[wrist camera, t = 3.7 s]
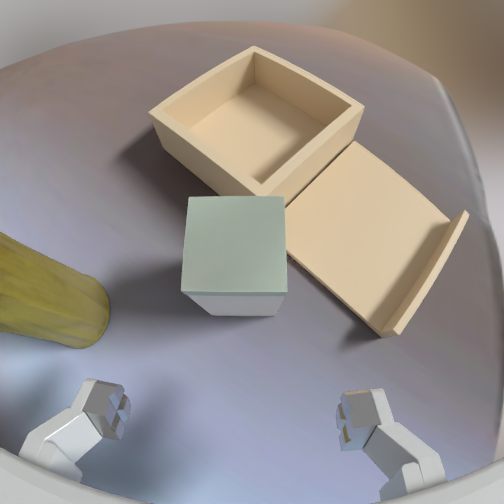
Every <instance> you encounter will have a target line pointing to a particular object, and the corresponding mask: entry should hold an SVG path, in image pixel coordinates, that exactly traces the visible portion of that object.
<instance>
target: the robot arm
mask: <svg viewBox="0 0 504 504" xmlns="http://www.w3.org/2000/svg"><path fill="white" fill-rule="evenodd" d="M124 391H125V390H124V388H123V386H122V385H120V384H114V383H109V382H104V381H99V380H95V379H90V378H87V379H86V380H84V382H83V384H82V386H81V388H80V390H79V392H78V394H77V396H76V398H75V400H74V402H73V404H72V406H71V408H66V409H65V410H63V411H62V412H60V413H59V414H57V415H55V416H54V417H52V418H51V419H49V420H48V421H46V422H45V423H43V424H42V425H40V426H39V427H37V428H36V429H34V430H32V431H31V432H29V433H28V436H27V438H26V440H25V442H24V444H23V446H22V448H21V450H20V452H19V454H18V456H16V455H14V454H12V453H10V452H8V451H6V450H5V449H3V448H1V447H0V504H153V503H148V502H143V501H139V500H135V499H131V498H127V497H123V496H119V495H115V494H112V493H108V492H105V491H102V490H98V489H95V488H92V487H89V486H86V485H83V484H80V482H81V479H82V475H83V473H82V471H81V470H80V469H79V468H78V467H77V466H76V465H75V464H74V463H76V462H77V461H78V460H79V459H80V458H81V457H82V456H83V455H84V454H86V453H87V452H88V451H89V450H90V449H91V448H92V447H93V446H94V445H95V444H96V443H98V442H99V441H100V440H101V439H102V437H105V438H110V439H115V440H120V441H121V439H122V436H123V433H124V430H125V426H124V423H123V422H125V421H126V420H127V419H128V418H129V415H130V408H131V405H130V401H129V398H128V397H127V396H126V395H125V394H123V393H124ZM340 399H341V403H340V404H339V405H338V407H337V410H336V423H337V428H338V429H339V430H340V431H341V434H340V436H339V441H340V446H341V452H342V451H352V450H360V449H363V451H364V452H365V453H366V454H367V455H368V457H369V458H370V459H371V460H372V461H373V462H374V463H375V464H376V465H377V466H378V467H379V468H380V470H381V471H382V472H383V473H384V474H385V475H386V476H387V477H388V478H389V479H390V480H389V481H388V482H387V483H386V484H385V485H384V486H383V487H382V488H381V489H380V490H379V492H380V498H381V502H376V503H371V504H504V457H503V458H501V459H499V460H497V461H495V462H493V463H491V464H489V465H487V466H485V467H482V468H480V469H478V470H476V471H473V472H471V473H469V474H466V475H464V476H461V477H459V478H456V479H454V480H451V481H449V482H448V481H447V478H446V475H445V472H444V469H443V466H442V463H441V460H440V457H439V454H438V453H436V452H435V451H434V450H433V449H431V448H430V447H429V446H427V445H426V444H425V443H424V442H422V441H421V440H420V439H419V438H417V437H416V436H415V435H414V434H412V433H411V432H410V431H409V430H407V429H406V428H405V427H404V426H402V425H401V424H400V423H399V422H394V419H393V416H392V413H391V410H390V407H389V404H388V401H387V398H386V395H385V393H384V390H383V389H382V388H379V389H372V390H361V391H352V392H343V393H342V395H341V398H340Z"/></svg>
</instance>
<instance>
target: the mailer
mask: <svg viewBox="0 0 504 504" xmlns="http://www.w3.org/2000/svg"><path fill="white" fill-rule="evenodd" d="M364 108H365V106H363V105H362V104H360V103H359V102H357V101H356V100H354V99H353V98H351V97H349V96H348V95H346V94H345V93H343V92H341V91H340V90H338V89H336V88H335V87H333V86H331V85H330V84H328V83H326V82H325V81H323V80H321V79H319V78H318V77H316V76H314V75H312V74H310V73H309V72H307V71H305V70H303V69H301V68H299V67H297V66H295V65H293V64H291V63H290V62H288V61H286V60H284V59H282V58H279V57H277V56H275V55H273V54H271V53H269V52H267V51H265V50H263V49H260V48H258V47H256V46H252V47H250V48H248V49H247V50H245V51H243V52H241V53H239V54H237V55H236V56H234V57H232V58H230V59H229V60H227V61H225V62H223V63H222V64H220V65H218V66H217V67H215V68H213V69H212V70H210V71H208V72H207V73H205V74H203V75H202V76H200V77H199V78H197V79H196V80H194V81H192V82H191V83H189V84H188V85H186V86H185V87H183V88H182V89H180V90H179V91H177V92H176V93H174V94H173V95H172V96H170V97H169V98H167V99H166V100H164V101H163V102H162V103H160V104H159V105H158V106H156V107H155V108H153V109H152V110H151V111H149V112H148V113H149V115H150V118H151V120H152V123H153V125H154V127H155V130H156V132H157V135H158V137H159V139H160V142H161V144H162V146H163V149H165V150H166V151H167V152H168V153H169V154H171V155H172V156H173V157H174V158H175V159H177V160H178V161H179V162H180V163H181V164H183V165H184V166H185V167H186V168H188V169H189V170H190V171H191V172H192V173H194V174H195V175H196V176H197V177H198V178H199V179H201V180H202V181H203V182H204V183H205V184H207V185H208V186H209V187H210V188H211V189H213V190H214V191H215V192H216V193H217V194H219V195H220V196H284V200H285V227H286V253H287V254H288V255H290V256H291V257H292V258H293V259H294V260H295V261H296V262H298V263H299V264H300V265H301V266H302V267H303V268H304V269H306V270H307V271H308V272H309V273H310V274H311V275H312V276H314V277H315V278H316V279H317V280H318V281H319V282H320V283H321V284H323V285H324V286H325V287H326V288H327V289H328V290H329V291H330V292H332V293H333V294H334V295H335V296H336V297H337V298H338V299H339V300H341V301H342V302H343V303H344V304H345V305H346V306H347V307H348V308H349V309H351V310H352V311H353V312H354V313H355V314H356V315H357V316H358V317H359V318H361V319H362V320H363V321H364V322H365V323H366V324H367V325H368V326H369V327H371V328H372V329H373V330H374V331H375V332H376V333H377V334H378V335H379V336H380V337H382V338H386V337H392V336H397V335H400V333H401V332H402V330H403V329H404V327H405V326H406V325H407V323H408V322H409V320H410V319H411V317H412V316H413V314H414V313H415V311H416V310H417V308H418V307H419V305H420V304H421V302H422V300H423V299H424V297H425V296H426V294H427V292H428V291H429V289H430V288H431V286H432V284H433V283H434V281H435V279H436V278H437V276H438V274H439V272H440V271H441V269H442V267H443V265H444V264H445V262H446V260H447V258H448V256H449V255H450V253H451V251H452V249H453V247H454V245H455V243H456V241H457V239H458V238H459V236H460V234H461V232H462V230H463V228H464V225H465V223H466V221H467V219H468V217H469V214H468V213H467V212H466V211H465V210H464V211H463V212H462V213H461V214H459V215H458V216H457V217H456V218H455V219H453V220H452V221H450V220H449V219H448V218H447V217H446V216H445V215H444V214H443V213H442V212H440V211H439V210H438V209H437V208H436V207H435V206H434V205H433V204H432V203H431V202H430V201H429V200H427V199H426V198H425V197H424V196H423V195H422V194H421V193H420V192H418V191H417V190H416V189H415V188H414V187H413V186H412V185H410V184H409V183H408V182H407V181H406V180H404V179H403V178H402V177H401V176H400V175H398V174H397V173H396V172H395V171H394V170H392V169H391V168H390V167H389V166H387V165H386V164H385V163H383V162H382V161H381V160H380V159H378V158H377V157H376V156H374V155H373V154H372V153H371V152H369V151H368V150H367V149H365V148H364V147H363V146H361V145H360V144H358V143H357V142H356V141H354V142H353V143H351V142H352V140H353V137H354V135H355V132H356V129H357V127H358V124H359V122H360V119H361V116H362V114H363V111H364ZM330 163H331V164H330ZM329 164H330V165H329ZM328 165H329V166H328ZM327 166H328V167H327ZM326 167H327V168H326ZM325 168H326V169H325ZM324 169H325V170H324ZM323 170H324V171H323ZM322 171H323V172H322ZM321 172H322V173H321ZM320 173H321V174H320ZM319 174H320V175H319ZM318 175H319V176H318ZM317 176H318V177H317ZM316 177H317V178H316ZM315 178H316V179H315ZM314 179H315V180H314ZM313 180H314V181H313ZM312 181H313V182H312ZM311 182H312V183H311ZM310 183H311V184H310ZM309 184H310V185H309ZM308 185H309V186H308ZM307 186H308V187H307ZM306 187H307V188H306ZM305 188H306V189H305ZM304 189H305V190H304ZM303 190H304V191H303ZM302 191H303V192H302ZM301 192H302V193H301ZM300 193H301V194H300ZM299 194H300V195H299ZM298 195H299V196H298ZM297 196H298V197H297ZM296 197H297V198H296ZM295 198H296V199H295ZM294 199H295V200H294ZM293 200H294V201H293ZM292 201H293V202H292Z"/></svg>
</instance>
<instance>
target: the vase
mask: <svg viewBox="0 0 504 504" xmlns="http://www.w3.org/2000/svg"><path fill="white" fill-rule="evenodd" d="M109 314H110V306H109V300H108V297H107V294H106V291H105V290H104V288H103V287H102V285H101V284H100V283H99V282H98V281H97V280H96V279H95V278H93V277H91V276H88V275H84V274H81V273H80V272H78V271H76V270H74V269H72V268H70V267H68V266H66V265H64V264H62V263H60V262H58V261H55V260H53V259H51V258H49V257H47V256H45V255H43V254H41V253H39V252H37V251H35V250H33V249H31V248H29V247H27V246H25V245H23V244H21V243H19V242H18V241H16V240H14V239H12V238H11V237H9V236H7V235H5V234H3V233H2V232H0V331H1V332H7V333H12V334H18V335H23V336H28V337H32V338H38V339H43V340H48V341H53V342H57V343H61V344H64V345H66V346H69V347H72V348H77V349H83V348H86V347H89V346H91V345H93V344H94V343H95V342H97V341H98V340H99V338H100V337H101V336H102V335H103V333H104V331H105V329H106V327H107V324H108V321H109Z"/></svg>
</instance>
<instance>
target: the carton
mask: <svg viewBox="0 0 504 504" xmlns="http://www.w3.org/2000/svg"><path fill="white" fill-rule="evenodd" d="M181 291H182V292H183V293H184V294H185V295H188V296H189V297H190V298H191V299H192V300H194V301H195V302H196V303H197V304H198V305H200V306H201V307H202V308H203V309H205V310H206V311H207V312H208V313H210V314H211V315H213V316H276V314H277V312H278V310H279V307H280V305H281V303H282V301H283V299H284V296H286V293H287V261H286V227H285V200H284V196H211V197H189V201H188V211H187V221H186V231H185V242H184V254H183V268H182V282H181Z"/></svg>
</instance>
